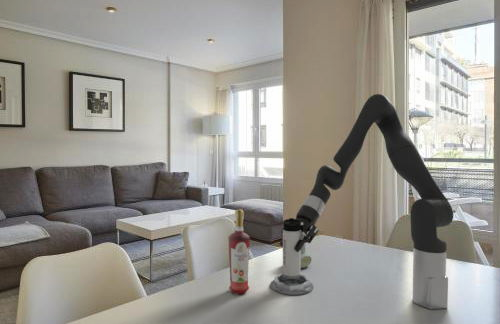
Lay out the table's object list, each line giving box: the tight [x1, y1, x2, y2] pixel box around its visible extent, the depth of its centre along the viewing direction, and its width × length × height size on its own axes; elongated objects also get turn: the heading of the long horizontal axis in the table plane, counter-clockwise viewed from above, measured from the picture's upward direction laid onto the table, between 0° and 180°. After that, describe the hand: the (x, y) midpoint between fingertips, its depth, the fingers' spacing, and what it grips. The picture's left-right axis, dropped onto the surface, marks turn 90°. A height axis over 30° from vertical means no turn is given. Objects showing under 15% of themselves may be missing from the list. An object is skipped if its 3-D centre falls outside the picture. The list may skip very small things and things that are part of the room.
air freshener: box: [301, 243, 313, 269], centre depth 143 cm, size 11×8×10 cm
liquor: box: [227, 209, 251, 295], centre depth 117 cm, size 7×7×28 cm
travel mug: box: [282, 217, 302, 279], centre depth 121 cm, size 6×7×20 cm
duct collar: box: [270, 273, 314, 296], centre depth 122 cm, size 15×15×3 cm
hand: (288, 248), depth 120 cm, fingers closed on travel mug, 6 cm apart
